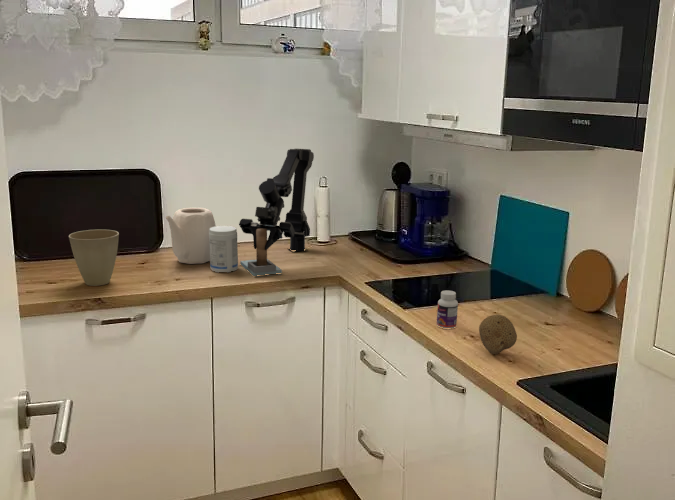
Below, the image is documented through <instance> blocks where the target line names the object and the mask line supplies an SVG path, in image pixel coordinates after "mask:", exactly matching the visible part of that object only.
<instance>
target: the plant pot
mask: <svg viewBox="0 0 675 500" xmlns="http://www.w3.org/2000/svg"><path fill="white" fill-rule="evenodd" d="M119 235H120V233H119V231H117V230H112V229H88V230H87V229H86V230H80V231H76V232H75V231H74V232H72V233H70V234H69V235H68V240H69V243H70V247H71V252H72V255H73V259H74V261H75V263H76V266H77V268H78V269H77V270H78V271H79V273H80V275H81V278H82V280H83V282H84V284H85V285H87V286H92V287H93V286H94V287H96V286H97V287H98V286H104V285H105V286H106V285H107V284H110V282H111V279H112V275H113V273H114V269H115V265H116V260H117V255H118V248H119Z"/></svg>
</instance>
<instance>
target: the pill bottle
mask: <svg viewBox="0 0 675 500" xmlns="http://www.w3.org/2000/svg"><path fill="white" fill-rule="evenodd" d="M458 310H459V302H458V300H457V293H456V291H453V290H442V291H441V292H440V299H439V300H438V301H437V314H436V326H437V325H438V326H440V327H443V328H454V327H456V328H457V325H458V323H457V322H458V312H459V311H458ZM438 326H437V327H438ZM454 329H455V328H454Z"/></svg>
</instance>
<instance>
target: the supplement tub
mask: <svg viewBox="0 0 675 500" xmlns="http://www.w3.org/2000/svg"><path fill="white" fill-rule="evenodd" d="M209 245H210V261H209V264H210V265H209V267H210V270H211V271H213V272H214V271H215V273H219V272H227V273H232V272H231V271H233V272H235V271H237V270H238V268H239V259H238V258H239V256H238V255H239V254H238V253H239V251H238V250H239V249H238V231H237V227H235V226H232V225H216V226H215V227H212V228H210V229H209Z"/></svg>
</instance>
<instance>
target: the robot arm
mask: <svg viewBox="0 0 675 500" xmlns="http://www.w3.org/2000/svg"><path fill="white" fill-rule="evenodd" d="M314 157H315V155H314V152H312V150H311V149H310V148H289V149H288V150H287V152H286V157H285V159H284V161H283V165H282V166H281V169H280V170H279V173H278V174H277V175H275V176H274V177H271V178H270V177H268V178H266V180H264V181H262V182H261V183H260V184H259V186H258V191H259V192H260V195H261V197H262V199H263V201H264V202H265V204H266V205H265V207H263V206H256V208H255V214H254V217H255V218H256V217H257V219H256V220H257V221H258V222H259V223H258V222H256V221H253V219H252V218H241V219H240V220H239V222H238V225H239V227H240V229H241V231H242V233H244V234H246V235H247V234H249V235H252V237H253V240H252V241H253V249H254V250H256V229H261V228H263V229H267V232H268V231H269V234H268V236H267V242H266V245H265V250H267V251H268V250H269V248H271V247H272V246H273V245H274V244H275V243H276V242H277V241H278V240H281V239H283V236H284V237H285V238H290V239H289V244H290V245H289V247H290V249H291V250H296V251H303V252H305V251H304V249H305V248H306V237H310V234H311V228H310V226H309V224H308V223H309V222H308V217H307V215H306V213H305V211H304V208H305V198H306V197H305V196H306V185H307V174H308V172H309V170H310V169H311V168H312V166H313V161H314V160H315V158H314ZM292 179H293V185H292V183H291V181H292ZM292 187H293V188H292ZM291 194H292V197H291V207H290V210H289V211H287V212H286V214H285V220H284V221H280V220H281V217H280V216H281V213H282V211H283V208H285V201H284V199H283V198H288V197H289V196H290V195H291ZM278 222H279V225H278Z"/></svg>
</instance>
